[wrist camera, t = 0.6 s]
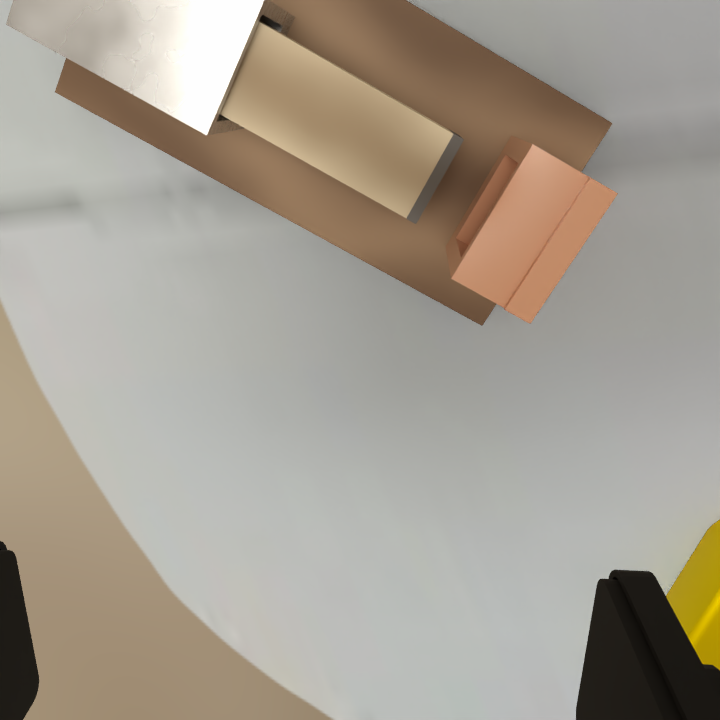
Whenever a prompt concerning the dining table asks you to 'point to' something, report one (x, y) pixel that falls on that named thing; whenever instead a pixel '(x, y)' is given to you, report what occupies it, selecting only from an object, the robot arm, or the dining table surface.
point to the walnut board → (403, 82)
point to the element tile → (701, 597)
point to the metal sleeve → (156, 47)
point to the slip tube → (339, 123)
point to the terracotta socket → (525, 228)
